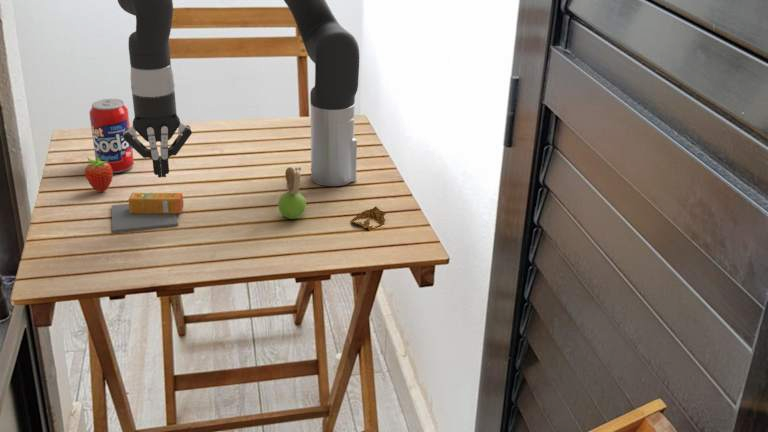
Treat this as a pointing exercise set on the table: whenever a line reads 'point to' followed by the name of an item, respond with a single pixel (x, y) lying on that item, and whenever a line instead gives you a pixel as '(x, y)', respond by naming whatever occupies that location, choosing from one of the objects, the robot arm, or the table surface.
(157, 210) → the supplement box
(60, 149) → the table surface
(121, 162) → the soda can
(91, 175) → the fruit
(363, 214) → the leaf
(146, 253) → the table surface
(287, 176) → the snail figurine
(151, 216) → the mat
